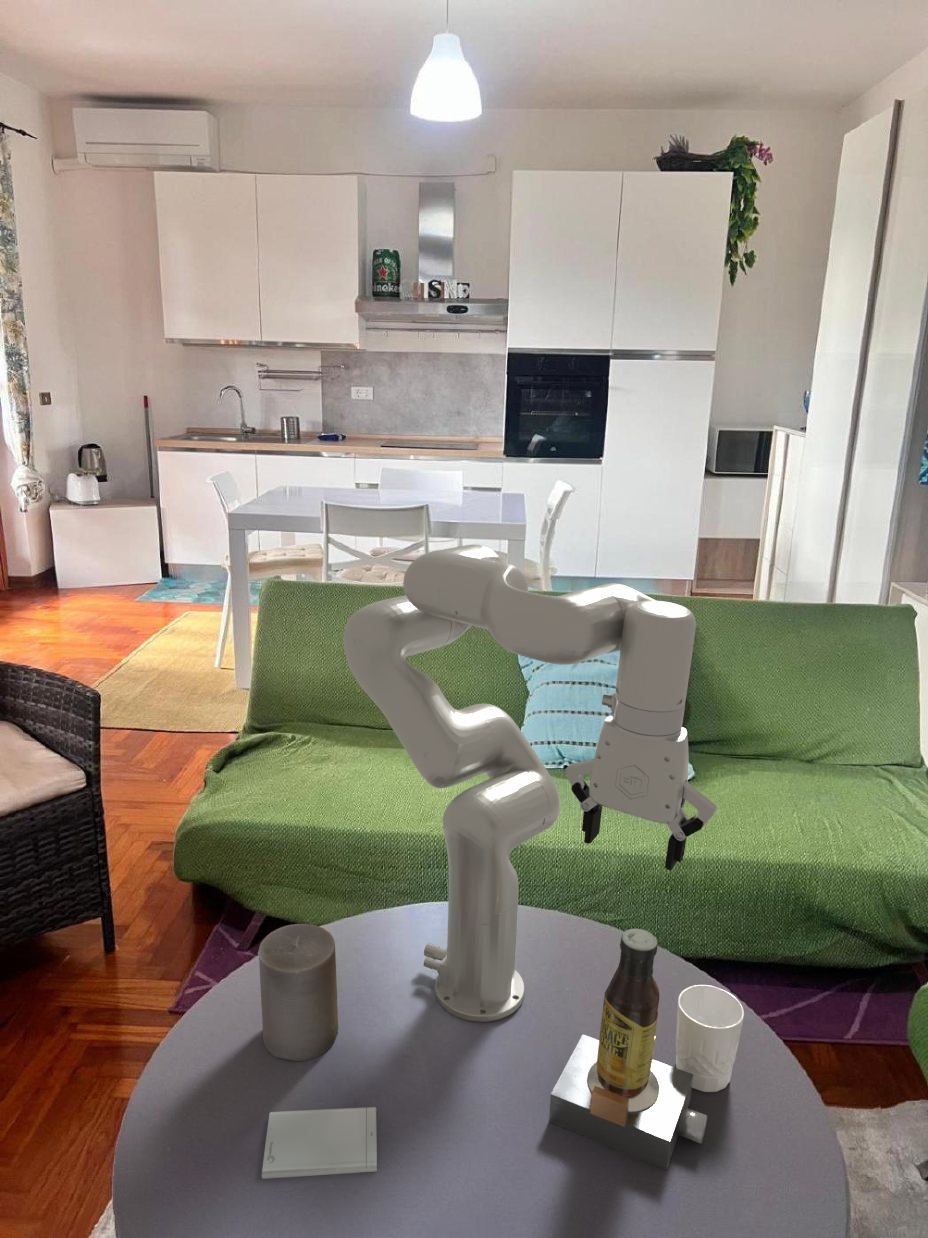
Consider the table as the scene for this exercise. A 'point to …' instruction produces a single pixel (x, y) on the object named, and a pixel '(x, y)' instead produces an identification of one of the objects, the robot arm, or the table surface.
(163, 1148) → the table surface
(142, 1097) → the table surface
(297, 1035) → the pillar candle
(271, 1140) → the hard drive
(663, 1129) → the block
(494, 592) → the robot arm
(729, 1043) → the white cup
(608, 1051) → the sauce bottle
